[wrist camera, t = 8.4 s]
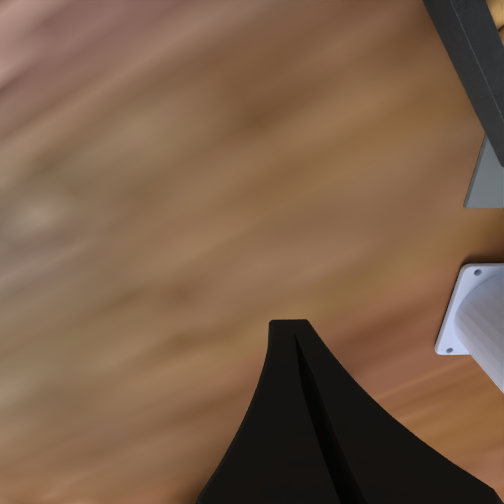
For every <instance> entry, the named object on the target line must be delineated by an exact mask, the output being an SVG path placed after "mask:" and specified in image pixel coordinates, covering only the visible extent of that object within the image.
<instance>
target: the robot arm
mask: <svg viewBox="0 0 504 504" xmlns="http://www.w3.org/2000/svg"><path fill="white" fill-rule="evenodd" d="M477 269H478V271H477V272H475V271H476V270H477ZM474 272H475V273H474ZM448 348H449V349H448ZM435 351H436V352H437V354H439V355H462V354H471V356H472V357H473V358H474V359H475V360H476V362H477V363H478V364H479V365H480V366H481V367H482V369H483V370H484V371H485V372H486V373H487V375H488V376H489V377H490V378H491V379H492V380H493V382H494V383H495V384H496V385H497V386H498V388H499V389H500V390H501V391H502V392H503V393H504V263H482V264H466V265H464V266H463V267H462V268H461V270H460V273H459V276H458V279H457V282H456V285H455V288H454V291H453V294H452V297H451V300H450V303H449V306H448V309H447V312H446V315H445V318H444V321H443V324H442V327H441V330H440V333H439V336H438V339H437V342H436V345H435ZM196 504H504V503H503V502H502V500H501V499H500V498H499V496H498V495H497V493H496V492H495V490H494V489H493V488H491V487H490V486H488V485H486V484H485V483H483V482H482V481H480V480H479V479H477V478H476V477H474V476H472V475H471V474H469V473H468V472H466V471H465V470H463V469H462V468H460V467H459V466H457V465H455V464H454V463H452V462H451V461H449V460H448V459H447V458H445V457H444V456H442V455H441V454H440V453H438V452H437V451H435V450H434V449H433V448H431V447H430V446H428V445H427V444H426V443H424V442H423V441H422V440H420V439H419V438H418V437H417V436H415V435H414V434H413V433H412V432H410V431H409V430H408V429H407V428H406V427H404V426H403V425H402V424H401V423H399V422H398V421H397V420H396V419H394V418H393V417H392V416H391V415H390V414H389V413H388V412H386V411H385V410H384V409H383V408H382V407H381V406H380V405H379V404H378V403H377V402H376V401H375V400H374V399H373V398H371V397H370V396H369V395H368V394H367V393H366V392H365V391H364V390H363V388H362V387H361V386H360V385H359V384H358V383H357V382H356V381H355V380H354V379H353V378H352V377H351V376H350V374H349V373H348V372H347V371H346V370H345V369H344V368H343V366H342V365H341V364H340V363H339V361H338V360H337V359H336V358H335V357H334V355H333V354H332V353H331V352H330V350H329V349H328V348H327V346H326V345H325V344H324V342H323V341H322V340H321V338H320V337H319V336H318V334H317V333H316V331H315V330H314V328H313V327H312V325H311V324H310V322H309V321H308V320H307V319H297V320H271V321H270V322H269V332H268V349H267V354H266V358H265V362H264V366H263V369H262V373H261V376H260V379H259V382H258V385H257V388H256V391H255V393H254V396H253V398H252V401H251V403H250V406H249V408H248V410H247V412H246V415H245V417H244V419H243V421H242V423H241V425H240V427H239V429H238V431H237V433H236V435H235V437H234V439H233V441H232V443H231V444H230V446H229V448H228V450H227V452H226V453H225V455H224V457H223V459H222V461H221V462H220V464H219V466H218V467H217V469H216V470H215V472H214V474H213V475H212V477H211V478H210V480H209V481H208V483H207V484H206V486H205V487H204V489H203V491H202V492H201V494H200V495H199V497H198V500H197V503H196Z"/></svg>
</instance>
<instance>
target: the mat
mask: <svg viewBox="0 0 504 504" xmlns="http://www.w3.org/2000/svg"><path fill="white" fill-rule="evenodd" d="M463 207H465V208H504V167H501V165H500V163H499V160H498V158H497V156H496V154H495V152H494V150H493V148H492V146H491V144H490V141H489V139H488V137H487V135H485V138H484V141H483V144H482V148H481V151H480V154H479V157H478V161H477V164H476V167H475V170H474V174H473V177H472V180H471V183H470V187H469V190H468V193H467V196H466V200H465V203H464V206H463Z"/></svg>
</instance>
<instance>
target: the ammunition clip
mask: <svg viewBox="0 0 504 504" xmlns="http://www.w3.org/2000/svg"><path fill="white" fill-rule="evenodd" d="M423 2H424V4H425V6H426V8H427V11H428V13H429V15H430V17H431V19H432V21H433V23H434V25H435V27H436V30H437V32H438V34H439V36H440V38H441V40H442V42H443V44H444V46H445V49H446V51H447V53H448V55H449V57H450V59H451V61H452V63H453V65H454V68H455V70H456V72H457V74H458V76H459V78H460V80H461V82H462V84H463V87H464V89H465V91H466V93H467V95H468V97H469V99H470V101H471V103H472V106H473V108H474V110H475V112H476V114H477V116H478V118H479V120H480V122H481V125H482V127H483V129H484V131H485V133H486V135H487V137H488V139H489V141H490V144H491V146H492V148H493V150H494V152H495V154H496V156H497V158H498V160H499V163H500V165H501V167H504V0H423Z"/></svg>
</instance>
